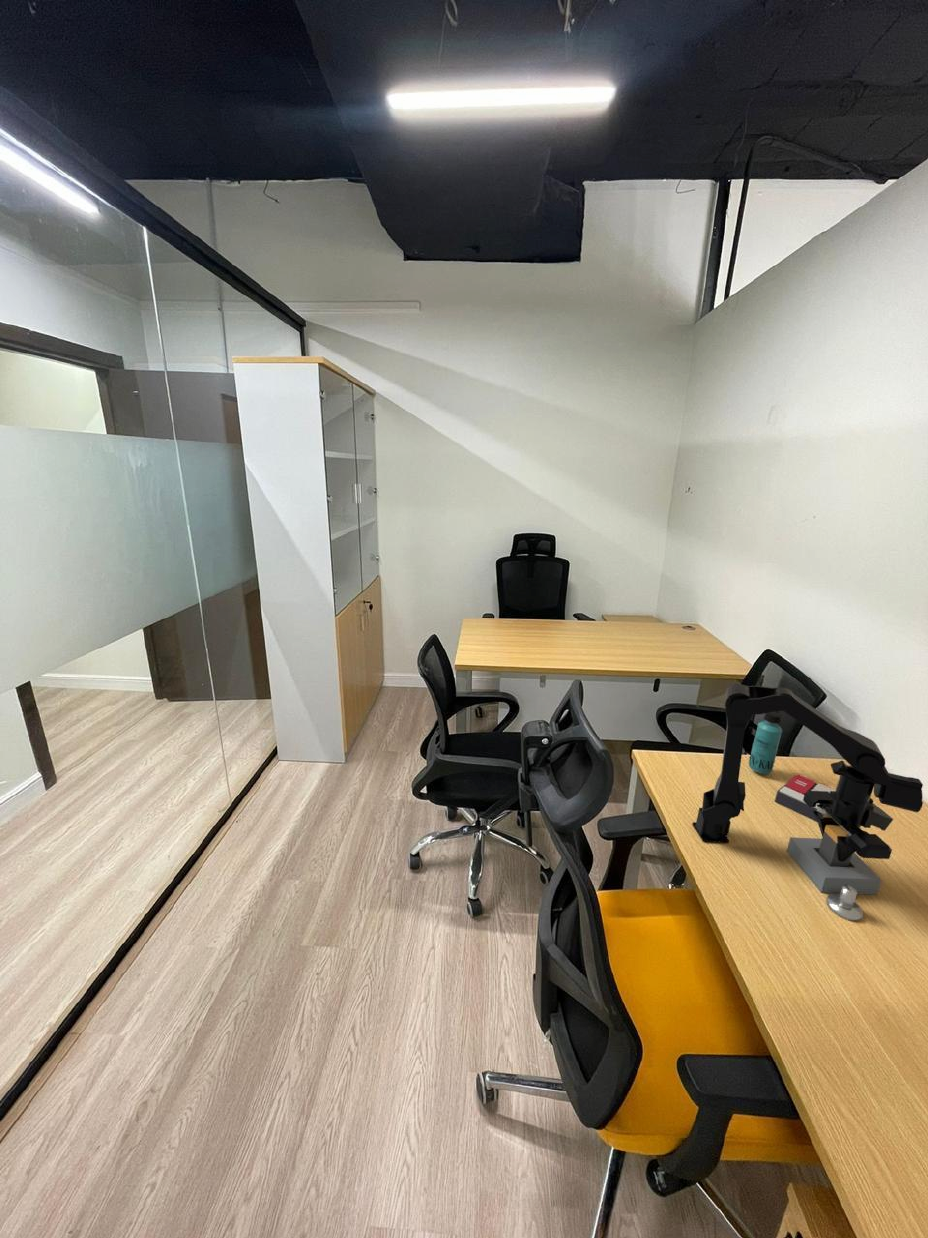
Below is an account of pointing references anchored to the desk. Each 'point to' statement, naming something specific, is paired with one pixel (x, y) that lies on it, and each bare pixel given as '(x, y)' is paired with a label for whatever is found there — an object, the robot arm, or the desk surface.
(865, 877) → the frame
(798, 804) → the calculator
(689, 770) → the desk surface
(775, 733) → the beverage bottle
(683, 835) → the desk surface
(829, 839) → the block
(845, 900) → the post
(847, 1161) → the desk surface
